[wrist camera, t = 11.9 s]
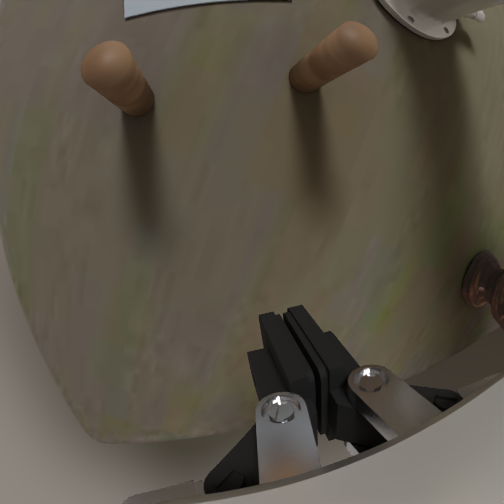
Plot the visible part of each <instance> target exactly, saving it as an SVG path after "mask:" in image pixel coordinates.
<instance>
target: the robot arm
mask: <svg viewBox="0 0 504 504" xmlns="http://www.w3.org/2000/svg"><path fill="white" fill-rule="evenodd" d="M378 1H379V2H380V3H381V4H382V5H383V7H384V8H385V9H386V10H387V11H388V12H389V13H390V14H391V15H392V16H393V17H394V18H395V19H396V20H397V21H399V22H400V23H401V24H402V25H404V26H405V27H406V28H408V29H409V30H411V31H412V32H414V33H416V34H418V35H420V36H422V37H424V38H427V39H432V40H442V39H444V38H447V37H449V36H451V35H452V34H453V32H454V31H455V28H456V19H458V18H461V17H469V18H471V19H473V20H475V21H477V22H480V23H481V22H483V21H484V20H485V15H484V13H483V11H481V10H484V9H487V8H490V7H493V6H496V5H500V4H503V3H504V0H378ZM283 320H284V321H283ZM259 322H260V328H261V334H262V340H263V346H264V348H263V349H259V350H255V351H250V352H247V354H248V359H249V364H250V369H251V373H252V378H253V382H254V385H255V389H256V392H257V395H258V399H259V403H258V405H257V406H256V411H255V416H256V424H255V425H254V426H253V427H252V428H251V429H250V430H249V431H248V433H247V434H246V435H245V436H244V437H243V438H242V439H241V440H240V441H239V443H238V444H237V445H236V446H235V447H234V448H233V449H232V450H231V451H230V452H229V453H228V454H227V455H226V456H225V457H224V459H222V460H221V461H220V463H219V464H218V465H217V466H216V467H215V468H214V469H213V470H212V471H211V472H210V473H209V474H208V475H207V477H206V478H205V479H204V480H201V481H198V482H194V481H193V480H191V481H187V482H184V483H180V484H177V485H173V486H170V487H166V488H162V489H158V490H154V491H149V492H145V493H140V494H135V495H133V496H130V497H128V498H127V499H126V500H124V501H123V503H122V504H504V372H502V373H497V374H494V375H491V376H489V377H487V378H484V379H482V380H479V381H477V382H474V383H472V384H469V385H466V386H463V387H461V388H458V389H457V391H456V392H454V391H451V390H445V389H435V388H428V387H419V386H412V385H407V384H406V383H405V382H404V381H402V380H401V379H400V378H399V377H397V376H396V375H395V374H394V373H392V372H391V371H390V370H388V369H387V368H385V367H383V366H379V365H364V366H361V367H360V366H359V365H358V363H357V362H356V361H355V360H354V358H353V357H352V356H351V355H350V354H349V352H348V351H347V350H346V349H345V347H344V346H343V345H342V344H341V342H340V341H339V340H338V339H337V337H336V336H335V335H334V334H333V333H332V332H331V331H328V332H325V333H323V331H322V330H321V329H320V327H319V326H318V325H317V323H316V322H315V321H314V320H313V318H312V317H311V316H310V314H309V313H308V312H307V310H306V309H305V308H304V307H303V305H299V306H295V307H291V308H288V309H287V312H286V313H283V319H282V317H281V316H280V314H278V315H275V314H274V312H270V313H265V314H261V315H259ZM317 429H318V432H319V433H320V434H321V435H322V434H326V436H327V438H328V440H329V441H330V440H333V439H338V440H342V441H344V445H345V447H346V449H347V450H348V451H349V452H350V453H351V455H352V457H350V458H347V459H345V460H342V461H339V462H336V463H333V464H330V465H328V466H325V467H322V468H321V464H320V459H319V455H318V451H317V445H318V441H317V440H318V439H317Z"/></svg>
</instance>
